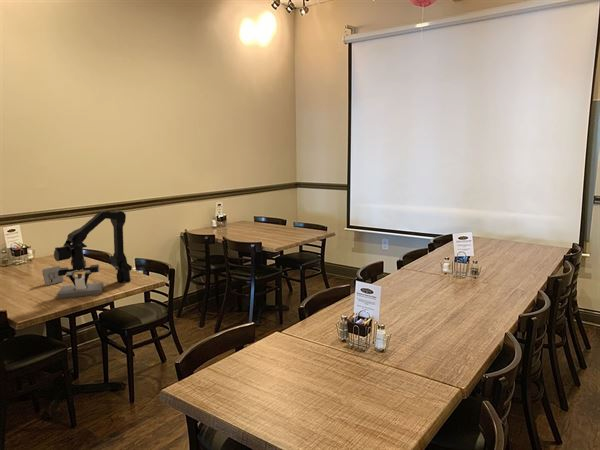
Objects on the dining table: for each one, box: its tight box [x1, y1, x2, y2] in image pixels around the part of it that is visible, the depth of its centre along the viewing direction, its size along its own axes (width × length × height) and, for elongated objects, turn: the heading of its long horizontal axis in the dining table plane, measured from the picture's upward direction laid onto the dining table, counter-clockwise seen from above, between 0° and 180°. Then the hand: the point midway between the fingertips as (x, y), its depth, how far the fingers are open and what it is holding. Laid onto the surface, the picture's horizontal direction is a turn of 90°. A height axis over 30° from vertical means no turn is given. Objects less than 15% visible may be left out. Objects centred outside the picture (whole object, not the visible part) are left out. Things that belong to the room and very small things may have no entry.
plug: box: [75, 273, 87, 290], centre depth 233 cm, size 4×4×8 cm
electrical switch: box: [41, 265, 65, 286], centre depth 251 cm, size 9×5×9 cm, turn 141°
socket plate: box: [56, 281, 105, 300], centre depth 234 cm, size 20×13×2 cm, turn 107°
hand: (81, 286), depth 234 cm, fingers closed on plug, 4 cm apart
